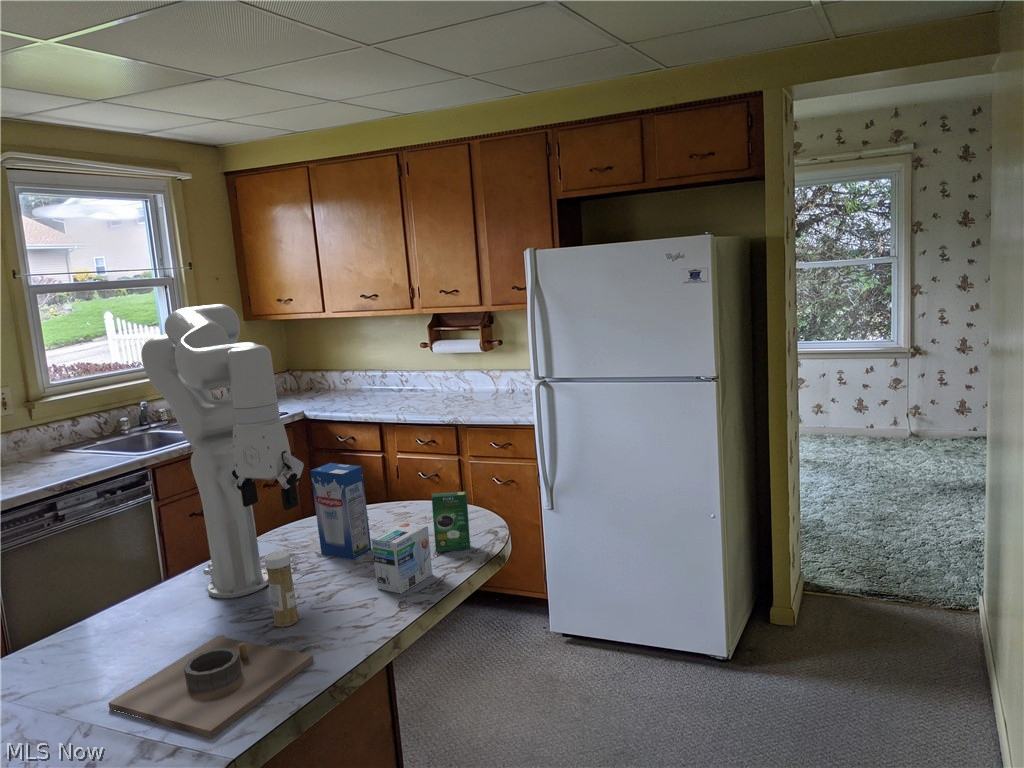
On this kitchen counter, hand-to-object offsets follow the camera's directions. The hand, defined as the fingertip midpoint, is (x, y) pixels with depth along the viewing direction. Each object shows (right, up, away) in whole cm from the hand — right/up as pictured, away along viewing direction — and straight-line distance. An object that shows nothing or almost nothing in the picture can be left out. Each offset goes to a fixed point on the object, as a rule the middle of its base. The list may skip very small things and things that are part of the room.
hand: (270, 506), depth 142 cm
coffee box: (+31, -15, +33) cm, 48 cm away
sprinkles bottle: (+2, -23, +4) cm, 23 cm away
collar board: (-4, -26, -16) cm, 31 cm away
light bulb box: (+22, -19, +18) cm, 34 cm away
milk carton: (+6, -17, +37) cm, 41 cm away
